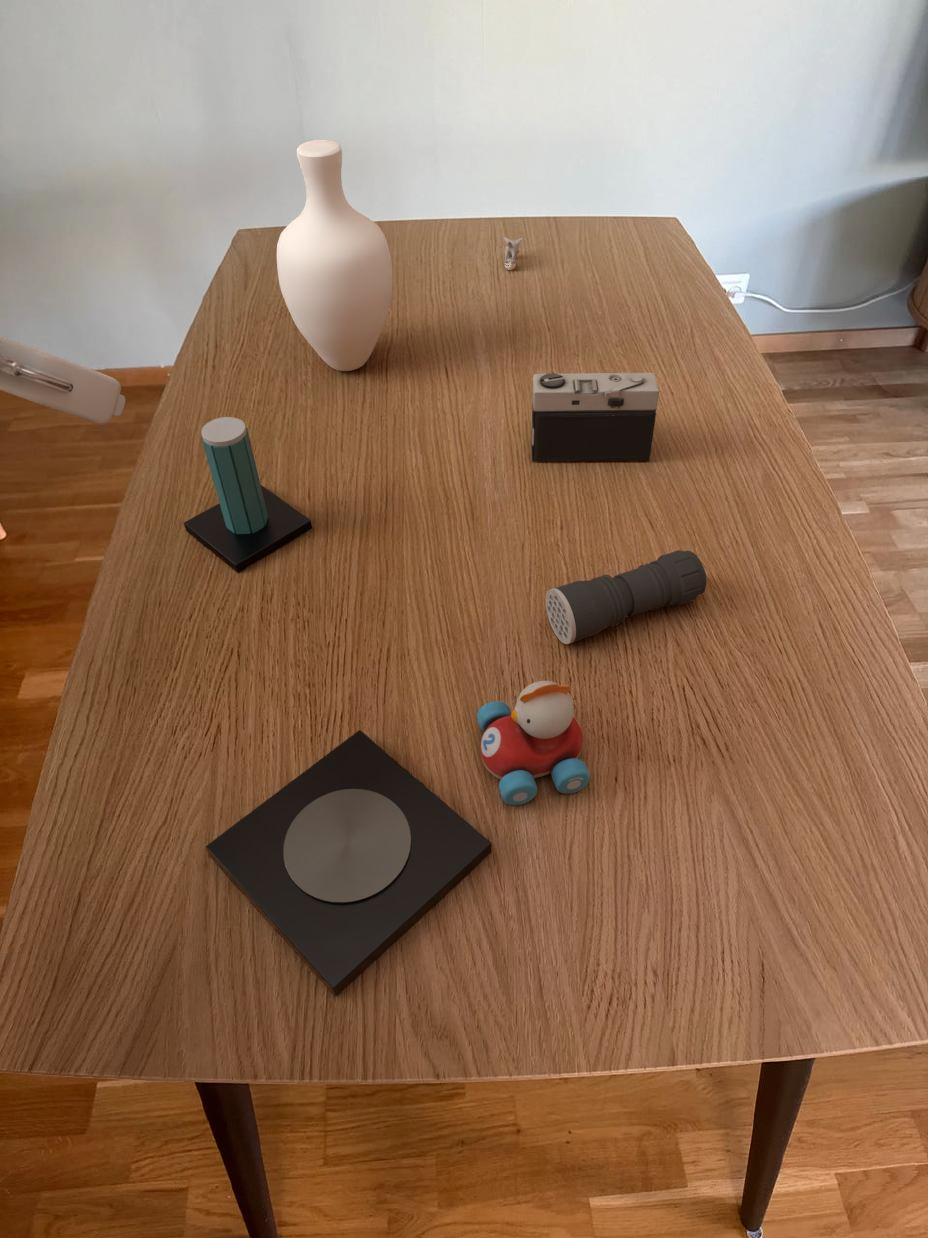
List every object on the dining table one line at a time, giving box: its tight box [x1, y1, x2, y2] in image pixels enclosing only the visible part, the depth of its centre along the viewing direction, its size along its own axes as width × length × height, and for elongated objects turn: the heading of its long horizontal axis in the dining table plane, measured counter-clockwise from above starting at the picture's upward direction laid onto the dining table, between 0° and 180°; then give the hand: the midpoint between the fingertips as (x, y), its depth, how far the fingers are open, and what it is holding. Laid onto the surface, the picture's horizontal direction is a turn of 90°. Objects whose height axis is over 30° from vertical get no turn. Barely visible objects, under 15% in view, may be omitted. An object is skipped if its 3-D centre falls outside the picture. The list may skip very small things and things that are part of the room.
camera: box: [530, 372, 660, 463], centre depth 107 cm, size 14×8×10 cm, turn 88°
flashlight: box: [545, 549, 708, 645], centre depth 89 cm, size 15×5×5 cm, turn 113°
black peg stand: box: [183, 483, 313, 574], centre depth 98 cm, size 10×10×7 cm
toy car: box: [476, 680, 591, 806], centre depth 75 cm, size 9×9×10 cm
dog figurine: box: [502, 236, 524, 271], centre depth 143 cm, size 3×8×6 cm
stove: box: [205, 729, 493, 997], centre depth 72 cm, size 16×16×2 cm
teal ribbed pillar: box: [200, 416, 268, 534], centre depth 96 cm, size 4×4×12 cm
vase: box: [276, 139, 394, 372], centre depth 115 cm, size 14×14×28 cm
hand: (78, 390), depth 78 cm, fingers open, 8 cm apart
